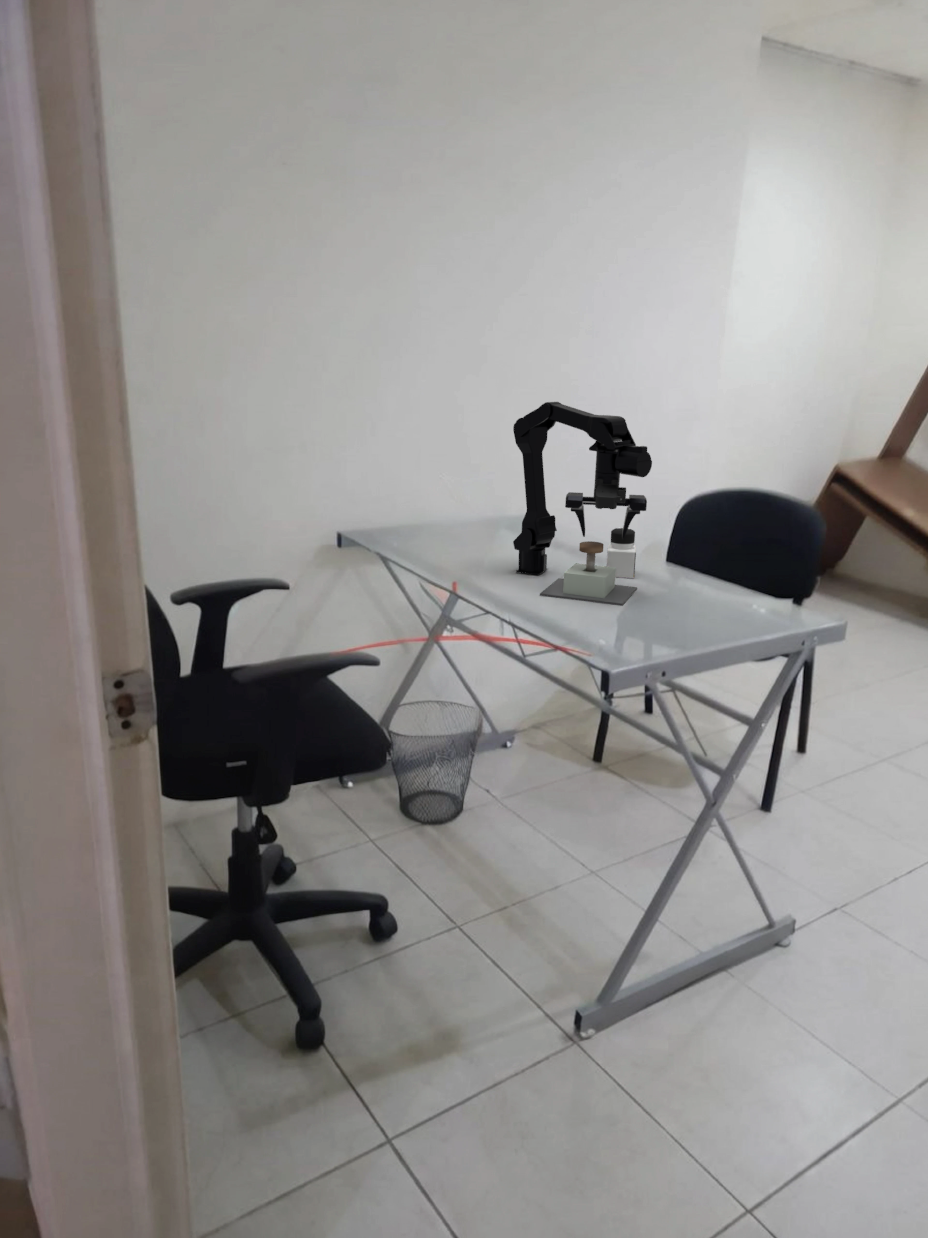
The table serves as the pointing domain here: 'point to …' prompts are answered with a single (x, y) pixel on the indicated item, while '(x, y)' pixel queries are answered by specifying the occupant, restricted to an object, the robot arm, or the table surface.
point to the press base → (590, 586)
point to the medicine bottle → (622, 553)
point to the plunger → (591, 553)
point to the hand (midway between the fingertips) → (603, 537)
